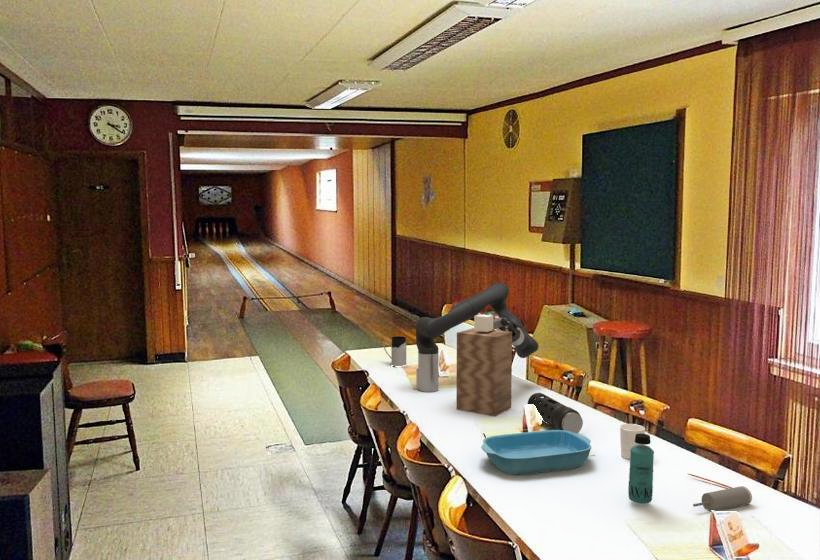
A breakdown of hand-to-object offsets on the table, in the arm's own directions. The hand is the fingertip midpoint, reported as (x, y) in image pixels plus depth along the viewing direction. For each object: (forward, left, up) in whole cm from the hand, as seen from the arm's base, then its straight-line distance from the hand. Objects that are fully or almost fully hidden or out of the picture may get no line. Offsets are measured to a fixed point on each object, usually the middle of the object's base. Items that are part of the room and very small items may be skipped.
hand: (497, 319), depth 297 cm
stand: (0, -11, -36) cm, 37 cm away
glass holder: (-79, +35, -36) cm, 94 cm away
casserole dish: (+44, -56, -36) cm, 80 cm away
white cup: (+68, -33, -36) cm, 84 cm away
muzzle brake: (+34, -18, -36) cm, 53 cm away
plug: (0, -5, -3) cm, 5 cm away
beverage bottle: (+82, -70, -36) cm, 114 cm away
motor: (+94, -53, -36) cm, 114 cm away
